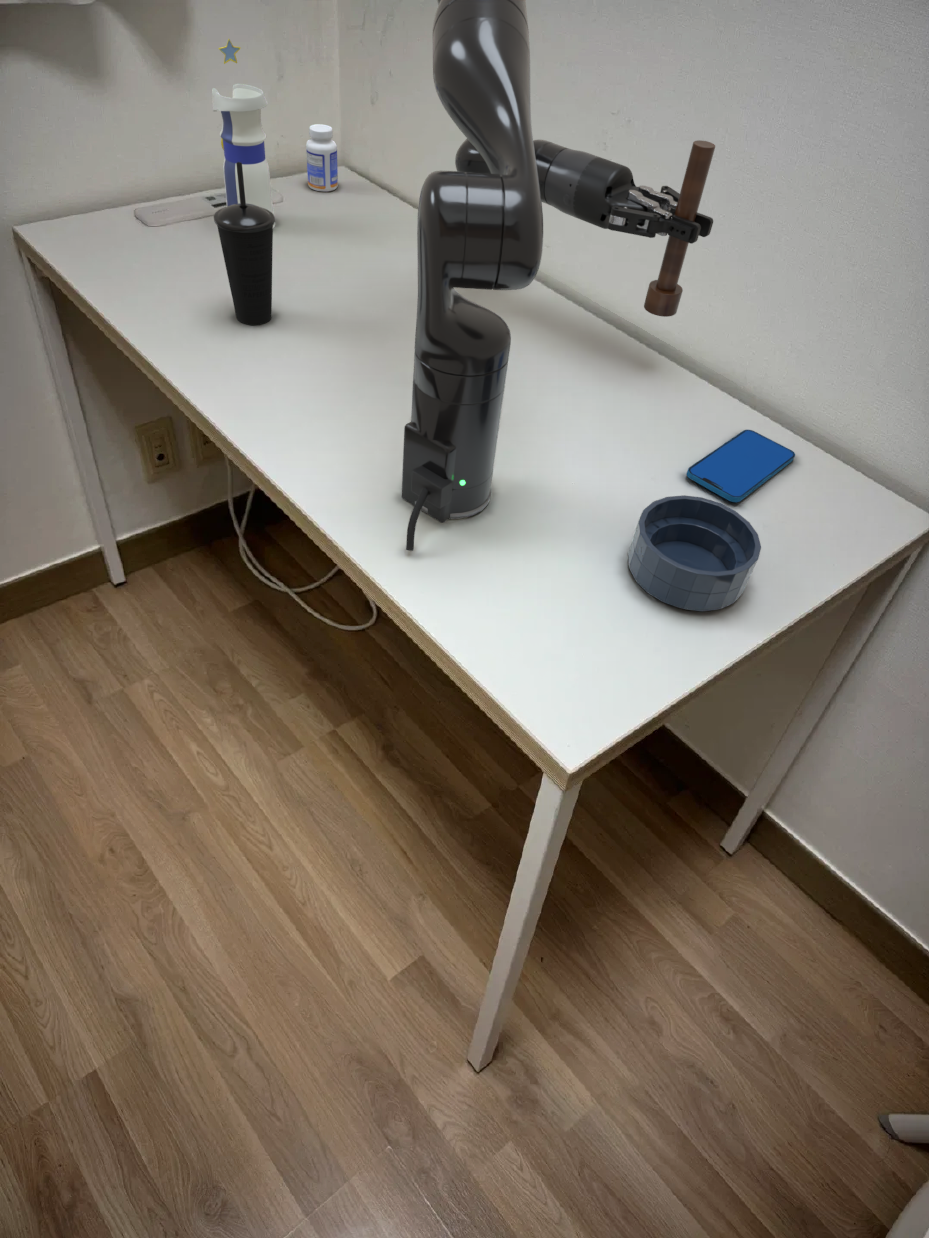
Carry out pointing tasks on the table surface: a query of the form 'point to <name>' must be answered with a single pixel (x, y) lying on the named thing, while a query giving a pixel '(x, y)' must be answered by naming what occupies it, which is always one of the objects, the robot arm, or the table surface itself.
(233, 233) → the drinking cup
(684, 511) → the bowl
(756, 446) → the smartphone
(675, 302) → the muddler
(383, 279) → the table surface
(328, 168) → the pill bottle
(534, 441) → the table surface
